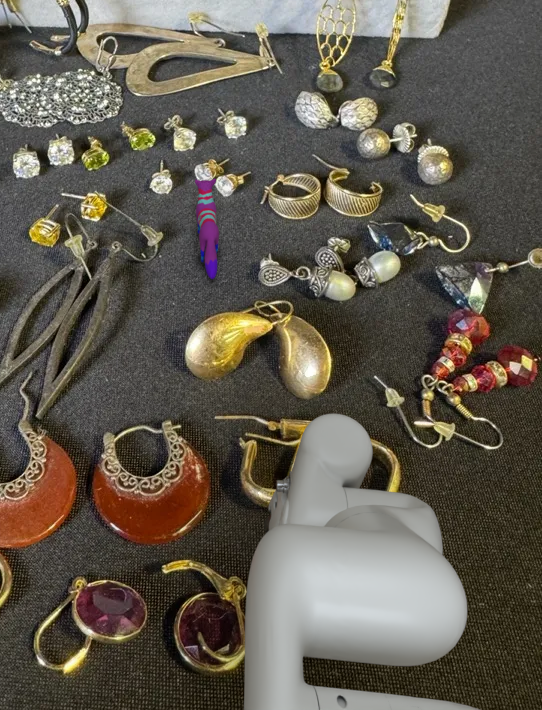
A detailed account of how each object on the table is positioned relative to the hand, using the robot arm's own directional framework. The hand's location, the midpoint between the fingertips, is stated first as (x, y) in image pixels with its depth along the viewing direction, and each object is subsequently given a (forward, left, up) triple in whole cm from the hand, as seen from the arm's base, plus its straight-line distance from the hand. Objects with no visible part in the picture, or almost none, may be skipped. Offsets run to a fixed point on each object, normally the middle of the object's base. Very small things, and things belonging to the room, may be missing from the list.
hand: (299, 546), depth 107 cm
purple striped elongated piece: (+54, +12, -3) cm, 55 cm away
